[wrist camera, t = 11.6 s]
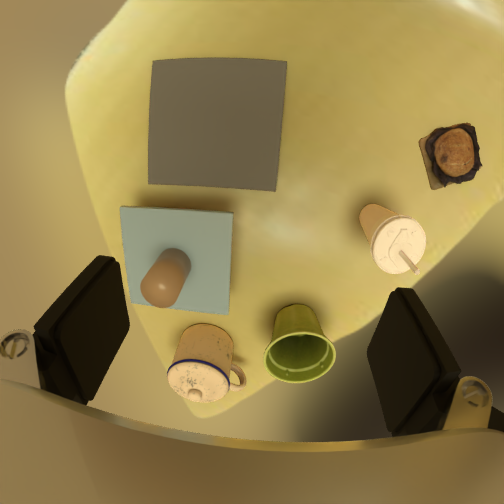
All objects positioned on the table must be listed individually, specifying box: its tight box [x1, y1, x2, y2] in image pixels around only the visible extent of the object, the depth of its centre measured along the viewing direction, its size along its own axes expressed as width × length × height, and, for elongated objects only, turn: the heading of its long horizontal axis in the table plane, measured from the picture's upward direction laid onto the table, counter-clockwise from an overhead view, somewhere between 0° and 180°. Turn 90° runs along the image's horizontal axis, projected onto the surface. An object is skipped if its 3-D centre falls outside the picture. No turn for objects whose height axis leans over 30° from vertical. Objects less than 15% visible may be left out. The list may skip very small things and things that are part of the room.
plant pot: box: [263, 304, 336, 383], centre depth 40 cm, size 9×9×9 cm
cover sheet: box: [120, 206, 234, 315], centre depth 31 cm, size 13×13×7 cm
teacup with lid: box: [167, 324, 246, 402], centre depth 42 cm, size 12×9×12 cm
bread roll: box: [419, 123, 482, 190], centre depth 31 cm, size 11×8×4 cm
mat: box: [148, 58, 287, 192], centre depth 32 cm, size 16×16×1 cm
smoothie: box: [359, 204, 426, 275], centre depth 30 cm, size 6×6×14 cm
